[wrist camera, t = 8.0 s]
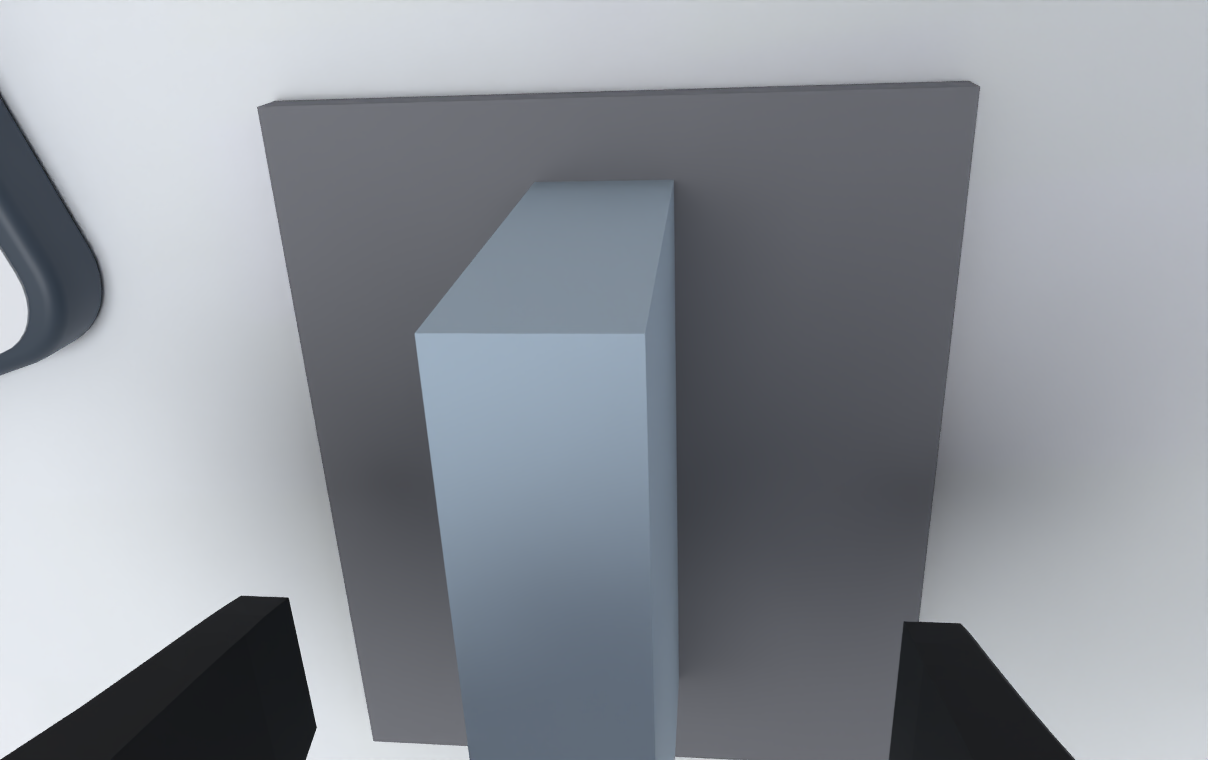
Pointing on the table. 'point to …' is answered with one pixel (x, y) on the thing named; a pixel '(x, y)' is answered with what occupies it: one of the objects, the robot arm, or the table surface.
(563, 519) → the panel
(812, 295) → the mat
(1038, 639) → the table surface
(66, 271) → the phone case
